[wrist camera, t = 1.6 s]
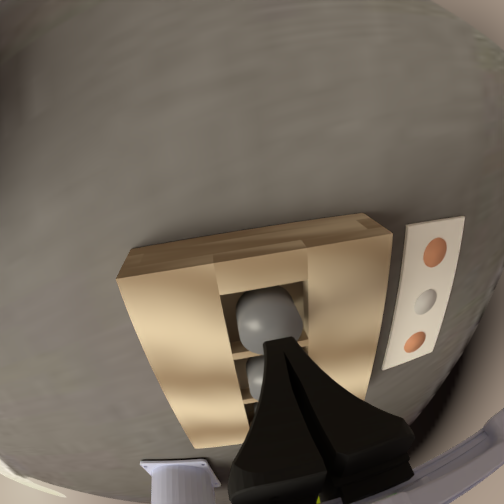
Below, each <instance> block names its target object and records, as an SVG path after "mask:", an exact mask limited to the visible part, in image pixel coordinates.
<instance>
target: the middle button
mask: <svg viewBox="0 0 504 504" xmlns="http://www.w3.org/2000/svg"><path fill="white" fill-rule="evenodd" d="M246 372H247V378H248V383H249V388H250V393H251V395H252V397H253V398H254V399H256V400H258V401H259V396H260V392H261V386H262V381H263V372H264V355H259V356H254V357H249V359H248V360H247V362H246Z"/></svg>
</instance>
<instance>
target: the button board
mask: <svg viewBox="0 0 504 504" xmlns="http://www.w3.org/2000/svg"><path fill="white" fill-rule="evenodd" d="M392 238H393V233H392V232H390V231H389V230H387V229H386V228H384V227H383V226H382V225H380V224H379V223H377V222H376V221H374V220H373V219H371V218H370V217H368V216H367V215H365V214H364V213H358V214H350V215H343V216H336V217H328V218H321V219H314V220H307V221H301V222H294V223H287V224H280V225H274V226H267V227H261V228H254V229H248V230H241V231H235V232H229V233H223V234H216V235H210V236H204V237H198V238H192V239H186V240H180V241H174V242H169V243H163V244H157V245H151V246H146V247H140V248H134V249H131V250H130V252H129V254H128V256H127V258H126V260H125V262H124V264H123V266H122V268H121V270H120V272H119V274H118V276H117V278H116V281H117V284H118V287H119V289H120V292H121V295H122V298H123V300H124V303H125V306H126V308H127V311H128V313H129V316H130V318H131V321H132V323H133V326H134V328H135V331H136V333H137V335H138V338H139V340H140V342H141V345H142V347H143V349H144V352H145V354H146V356H147V358H148V361H149V363H150V365H151V367H152V369H153V371H154V373H155V375H156V378H157V380H158V382H159V384H160V386H161V388H162V390H163V392H164V394H165V396H166V398H167V400H168V401H169V403H170V405H171V407H172V409H173V411H174V413H175V415H176V416H177V418H178V420H179V422H180V424H181V425H182V427H183V429H184V431H185V433H186V434H187V436H188V438H189V439H190V441H191V443H192V444H193V446H194V448H195V449H198V448H209V447H218V446H227V445H234V444H241V443H243V442H244V440H245V438H246V435H247V433H248V431H249V429H250V426H251V423H252V420H253V417H254V414H255V413H254V408H253V405H254V402H258V400H256V399H254V398H253V397H252V395H251V393H250V388H249V383H248V378H247V372H246V362H247V360H248V359H249V357H254V356H259V355H261V354H256V353H253V352H251V351H249V350H248V349H246V348H245V347H244V346H243V344H242V342H241V340H240V336H239V330H238V324H237V319H236V312H235V310H236V304H237V302H238V300H239V298H240V297H241V295H242V294H243V293H244V292H246V291H249V290H255V289H260V288H266V287H272V286H277V285H278V286H281V287H283V288H284V289H286V290H287V291H288V292H289V294H290V295H291V297H292V299H293V302H294V304H295V306H296V308H297V310H298V312H299V314H300V317H301V319H302V322H303V330H302V333H301V336H300V337H299V339H298V340H297V342H298V344H299V345H300V346H301V347H302V349H303V350H304V351H305V352H306V353H307V354H308V356H309V357H310V358H311V359H312V360H313V361H314V362H315V363H316V364H317V365H318V366H319V367H320V368H321V369H322V370H323V371H324V372H325V373H326V374H327V375H329V376H330V377H331V378H332V379H333V380H334V381H336V382H337V383H338V384H339V385H341V386H342V387H343V388H345V389H346V390H347V391H349V392H350V393H352V394H353V395H355V396H356V397H358V398H360V399H362V400H363V401H364V399H365V395H366V391H367V387H368V383H369V379H370V375H371V371H372V367H373V362H374V358H375V353H376V349H377V344H378V339H379V334H380V328H381V323H382V317H383V311H384V305H385V298H386V292H387V284H388V277H389V268H390V259H391V250H392Z"/></svg>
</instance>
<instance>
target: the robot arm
mask: <svg viewBox="0 0 504 504" xmlns="http://www.w3.org/2000/svg"><path fill="white" fill-rule="evenodd" d="M263 352H264V372H263V381H262V386H261V392H260V396H259V401H258V404H257V408H256V411H255V414H254V417H253V420H252V423H251V426H250V429H249V431H248V433H247V435H246V438H245V440H244V442H243V444H242V446H241V448H240V450H239V452H238V454H237V456H236V458H235V459H234V461H233V463H232V467H231V471H230V475H229V480H228V494H229V500H230V501H231V503H232V504H317V499H318V496H319V499H320V503H318V504H449V503H451V502H452V501H454V500H455V499H457V498H458V497H460V496H461V495H463V494H464V493H466V492H467V491H469V490H470V489H472V488H473V487H474V486H476V485H477V484H478V483H480V482H481V481H483V480H484V479H485V478H486V477H488V476H489V475H491V474H492V473H493V472H494V471H496V470H497V469H498V468H499V467H501V466H502V465H503V464H504V408H503V409H502V410H501V411H499V412H498V413H497V414H495V415H494V416H493V417H491V418H490V419H489V420H488V421H487V423H486V424H485V425H484V427H483V428H482V429H481V430H479V431H478V432H476V433H475V434H473V435H472V436H470V437H469V438H467V439H466V440H464V441H462V442H461V443H459V444H457V445H456V446H454V447H452V448H451V449H449V450H447V451H446V452H444V453H442V454H440V455H438V456H437V457H435V458H433V459H431V460H429V461H427V462H426V463H423V464H421V465H419V466H418V467H415V468H413V469H412V468H411V466H410V464H409V462H408V461H409V459H410V458H409V456H408V454H407V451H408V450H409V448H410V447H411V445H412V444H413V442H414V439H415V435H414V433H413V432H412V430H411V428H410V427H409V425H408V424H407V423H406V422H405V420H404V419H403V418H400V417H398V416H395V415H392V414H390V413H387V412H385V411H383V410H380V409H378V408H376V407H374V406H372V405H370V404H369V403H367V402H365V401H363V400H362V399H360V398H358V397H356V396H355V395H353V394H352V393H350V392H349V391H347V390H346V389H345V388H343V387H342V386H341V385H339V384H338V383H337V382H336V381H334V380H333V379H332V378H331V377H330V376H329V375H327V374H326V373H325V372H324V371H323V370H322V369H321V368H320V367H319V366H318V365H317V364H316V363H315V362H314V361H313V360H312V359H311V358H310V357H309V356H308V354H307V353H306V352H305V351H304V350H303V349H302V347H301V346H300V345H299V344H298V342H297V341H296V340H295V338H294V337H292V336H290V337H285V338H280V339H275V340H270V341H265V342H264V343H263ZM140 465H141V466H142V467H143V468H144V469H145V470H146V471H147V472H148V473H149V474H150V475H151V476H152V490H151V504H216V502H215V492H214V487H220V486H221V483H220V481H219V480H218V478H217V477H216V475H215V474H214V472H213V470H212V469H211V467H210V466H209V464H208V462H207V461H206V460H205V459H192V460H173V461H140ZM395 493H396V494H395ZM390 495H391V496H390ZM383 498H384V499H383ZM378 500H379V501H378ZM373 502H374V503H373Z"/></svg>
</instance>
